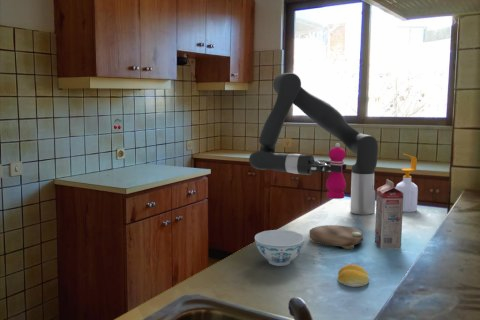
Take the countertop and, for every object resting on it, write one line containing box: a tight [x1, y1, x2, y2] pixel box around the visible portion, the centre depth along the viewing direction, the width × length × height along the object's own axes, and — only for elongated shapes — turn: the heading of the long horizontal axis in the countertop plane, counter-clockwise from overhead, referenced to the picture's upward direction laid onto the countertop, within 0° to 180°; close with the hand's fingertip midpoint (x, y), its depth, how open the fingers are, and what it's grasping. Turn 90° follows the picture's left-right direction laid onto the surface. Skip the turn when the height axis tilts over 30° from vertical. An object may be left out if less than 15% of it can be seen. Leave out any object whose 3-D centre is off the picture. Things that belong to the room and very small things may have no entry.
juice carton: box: [374, 178, 404, 250], centre depth 151 cm, size 7×7×22 cm
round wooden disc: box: [308, 224, 364, 250], centre depth 157 cm, size 18×18×4 cm
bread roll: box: [337, 263, 370, 288], centre depth 124 cm, size 8×9×4 cm
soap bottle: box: [395, 153, 419, 213], centre depth 196 cm, size 9×9×25 cm
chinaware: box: [254, 229, 306, 267], centre depth 138 cm, size 15×15×8 cm
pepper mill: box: [325, 142, 347, 200], centre depth 166 cm, size 7×7×20 cm
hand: (343, 168), depth 165 cm, fingers closed on pepper mill, 5 cm apart
